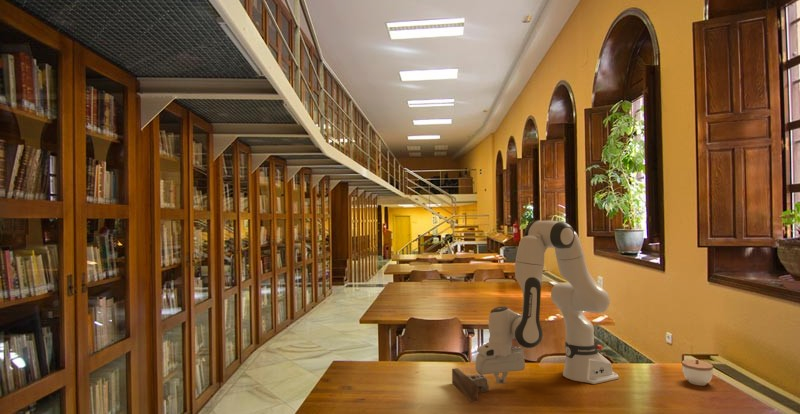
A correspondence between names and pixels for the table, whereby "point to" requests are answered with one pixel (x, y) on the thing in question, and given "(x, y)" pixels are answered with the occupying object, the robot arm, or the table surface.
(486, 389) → the stone
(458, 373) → the board
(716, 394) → the table surface
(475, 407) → the table surface
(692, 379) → the lidded jar
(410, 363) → the table surface
